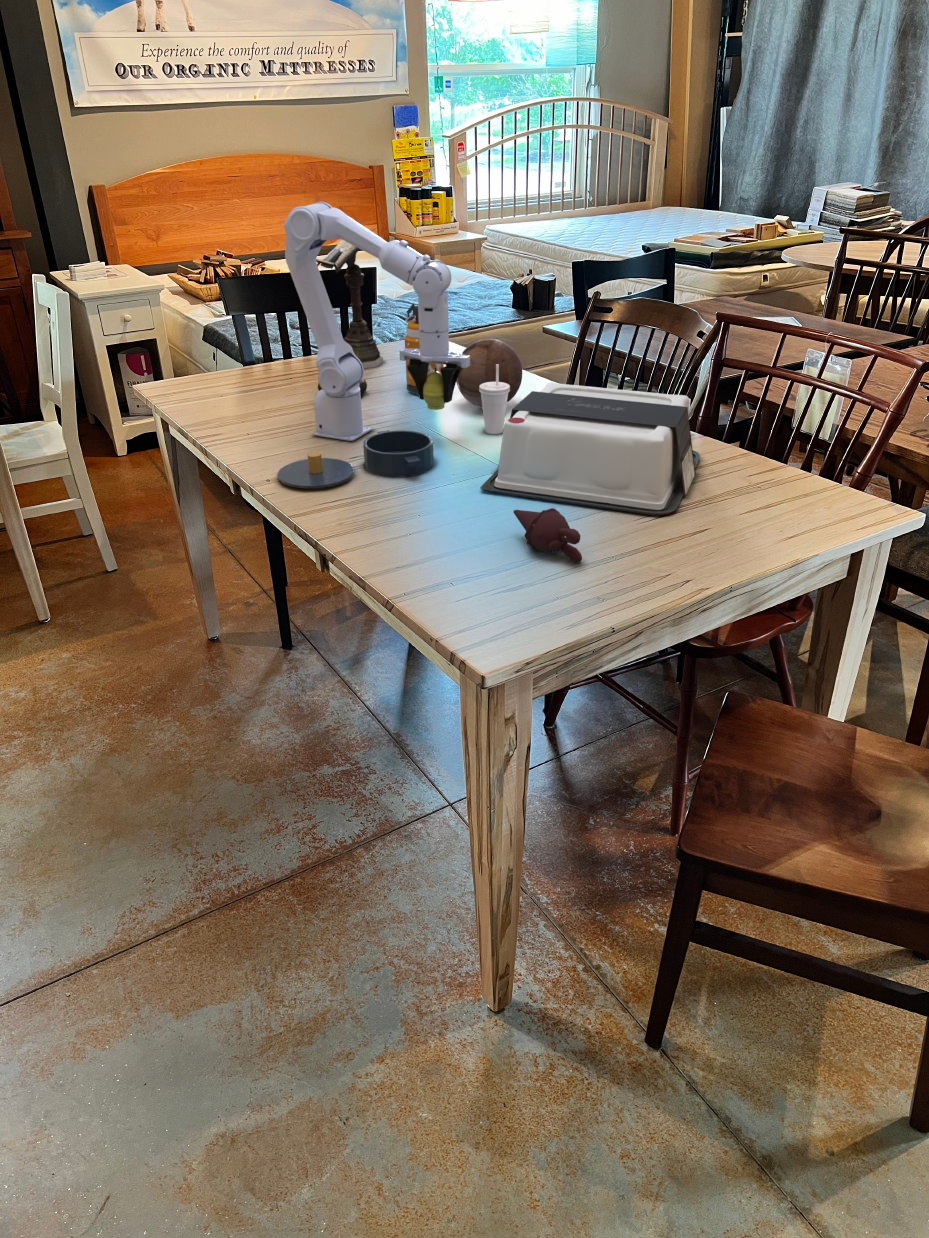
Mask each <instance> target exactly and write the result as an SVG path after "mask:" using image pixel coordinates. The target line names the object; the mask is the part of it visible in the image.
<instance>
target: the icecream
mask: <svg viewBox="0 0 929 1238" xmlns="http://www.w3.org/2000/svg"><path fill="white" fill-rule="evenodd" d="M512 512H513V515H514V516H515V517H516V519H517V520H518V522H519V523H520V525H521V527H523V530H525V533H524V538H525V540H526V545H528V546H529V547H530V548H531V549H532V550H534V551H536V550H538V551H540V552H542V553H557V552H559V551H561V553H562V554H563V555H564V556H566V558H568V560H570V561H571V562H573V563H574V564H579V563H581V562H582V560H583V556H582V553H581V552H580V551H579V549H578V548H577V547H575V546H576V545H578V543H580V540H581V534H580V533H579V532H580V531H578V530H577V529H576V528H571V527H570V525H569V523H568V521H567V519H566V517H565V516H564V515H563V514H562V513H560V511H559V510H557V509H556V508H553V507H552V508H548V509H543V510H541V511H532V510H522V509H514V510H513V511H512ZM573 545H575V546H573Z"/></svg>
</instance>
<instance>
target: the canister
mask: <svg viewBox="0 0 929 1238" xmlns="http://www.w3.org/2000/svg"><path fill="white" fill-rule="evenodd" d="M411 313H412V314H411ZM406 315H407V318H405V320H404V322H405V323H406V324H407V325H406V335H405V336H404V348H406V349H420V347H419V317H418V305H415V303H414V302H412V304H411V305H410V306H409V308H408V309H407V310H406ZM409 362H410V360H405V375H406V376H405V377H406V379H405V380H406V390H407V391H408V392H410V393H413V394H414V395H415V394H416V395H419V394H418V390H417V387H416V384H415V382H414V379H413V377H412V376H411V374H410V372H409V371H408V369H407V365H408V364H409ZM435 367H436V368H437V372H440V373H441V370H440V369H441V368H443V367H445V364H436V363H429V367H428V374H429V373H431V372H433V371H435Z"/></svg>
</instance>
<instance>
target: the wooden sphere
mask: <svg viewBox="0 0 929 1238" xmlns="http://www.w3.org/2000/svg"><path fill="white" fill-rule="evenodd" d="M461 354H462V355H468V356H470V366H469V367H467V368H462V370H461V372H460V374H459V376H458V379H457V381H456V386H457V389H458V390H459V392H460V394H461V396H462V397H463V398H464V399H465V400H466V401H467V402H468V403H470V404H471V405H473V406H475V407H477V408H481V409H483V406H482V399H481V392H480V391H479V386H480V385H481V384H483V383H486V382H496V365H497V364H498V365H499V382H503V383H507V384H508V385H509V386H510V391H509V392H508V398H507V403H509V402H510V401H511V400H513V398H514V397H515V396H516V394H517V393H518V392H519V389H520V387H521V384H522V381H523V366H522V362H521V359H520V357H519V355H518V353H517V352H516V351H515V349H513V347H512V346H511V345H510V344H507V343H505V342H504V341H502V340H499V339H495V338H484V339H479V340H477V341H473V342H472V343H471V344H469V345H468V346H466V348H464V350H463V351H462V353H461Z"/></svg>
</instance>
